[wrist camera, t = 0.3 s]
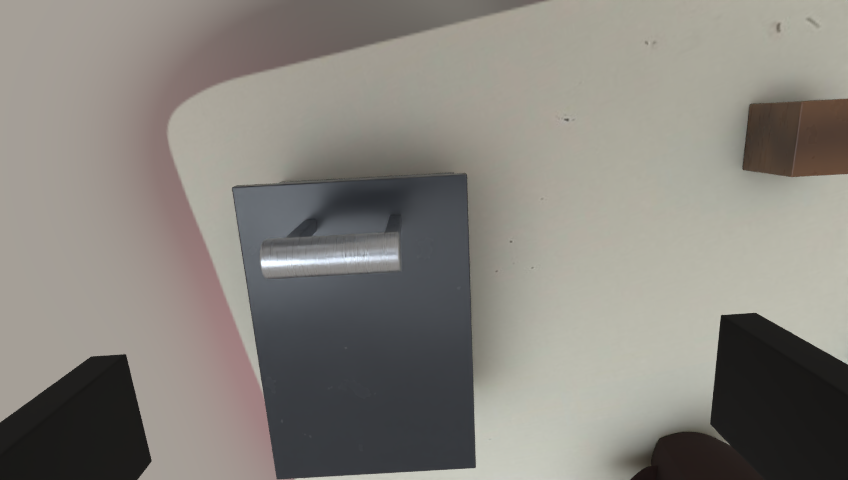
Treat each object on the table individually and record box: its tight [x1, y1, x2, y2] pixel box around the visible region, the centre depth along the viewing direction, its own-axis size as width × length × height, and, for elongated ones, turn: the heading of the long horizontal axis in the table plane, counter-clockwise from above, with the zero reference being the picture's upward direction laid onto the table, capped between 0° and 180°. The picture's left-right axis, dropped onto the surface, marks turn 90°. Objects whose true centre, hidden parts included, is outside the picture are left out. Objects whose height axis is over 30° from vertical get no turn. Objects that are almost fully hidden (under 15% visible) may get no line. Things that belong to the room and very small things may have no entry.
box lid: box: [232, 173, 476, 479], centre depth 26 cm, size 20×14×9 cm
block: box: [743, 99, 848, 177], centre depth 34 cm, size 5×5×5 cm
